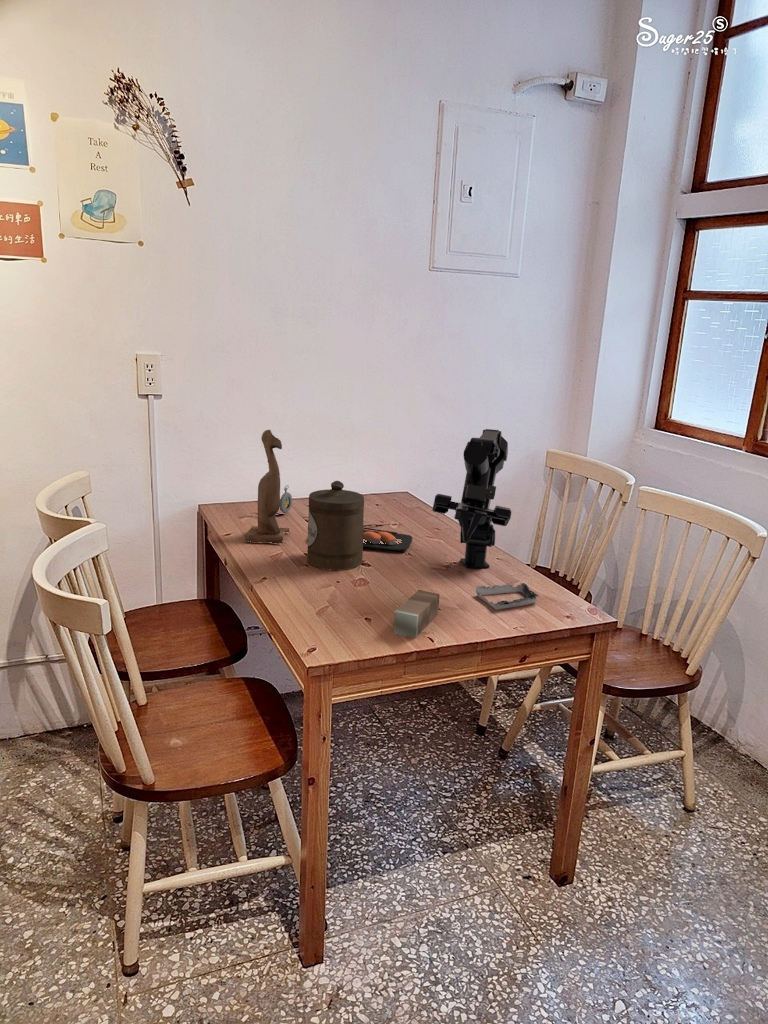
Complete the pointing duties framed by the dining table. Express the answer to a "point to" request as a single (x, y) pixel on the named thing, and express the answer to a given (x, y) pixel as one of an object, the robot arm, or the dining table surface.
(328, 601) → the dining table surface
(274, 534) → the bird sculpture
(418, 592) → the grey-green metal block
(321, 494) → the wooden container
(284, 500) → the pocket watch
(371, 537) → the sushi plate
